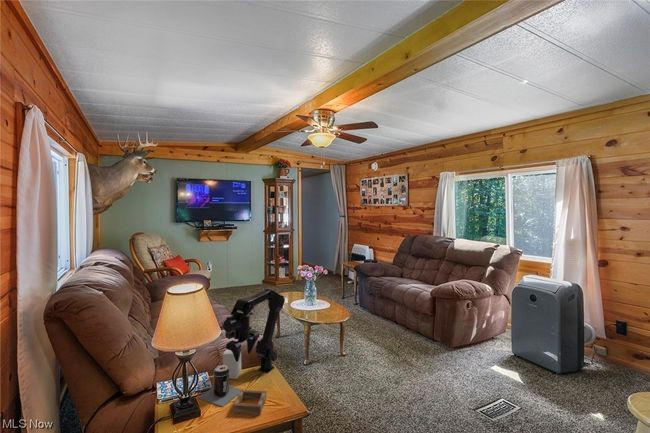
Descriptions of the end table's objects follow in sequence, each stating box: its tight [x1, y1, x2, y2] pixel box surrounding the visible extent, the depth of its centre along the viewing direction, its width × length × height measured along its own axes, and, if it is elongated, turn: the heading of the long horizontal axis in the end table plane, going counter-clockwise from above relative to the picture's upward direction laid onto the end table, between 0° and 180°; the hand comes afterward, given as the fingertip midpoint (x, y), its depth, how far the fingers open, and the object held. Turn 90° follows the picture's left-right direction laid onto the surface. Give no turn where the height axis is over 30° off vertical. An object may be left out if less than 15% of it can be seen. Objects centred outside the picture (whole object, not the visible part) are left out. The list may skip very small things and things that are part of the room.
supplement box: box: [222, 349, 242, 380], centre depth 173 cm, size 7×7×13 cm
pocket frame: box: [232, 389, 267, 416], centre depth 148 cm, size 12×12×4 cm
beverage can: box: [212, 364, 230, 397], centre depth 156 cm, size 7×7×12 cm
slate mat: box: [197, 385, 243, 408], centre depth 156 cm, size 14×14×1 cm
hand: (243, 357), depth 165 cm, fingers open, 9 cm apart
